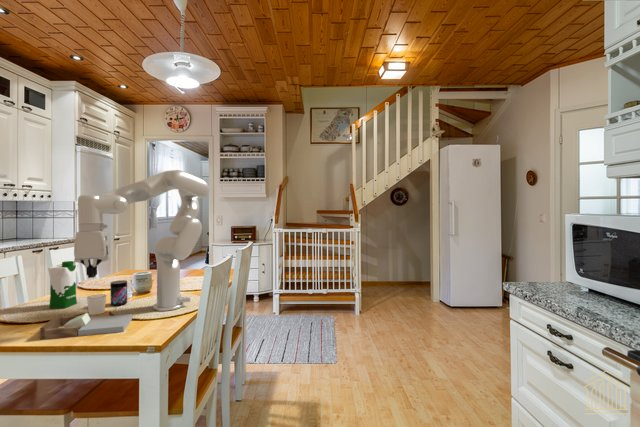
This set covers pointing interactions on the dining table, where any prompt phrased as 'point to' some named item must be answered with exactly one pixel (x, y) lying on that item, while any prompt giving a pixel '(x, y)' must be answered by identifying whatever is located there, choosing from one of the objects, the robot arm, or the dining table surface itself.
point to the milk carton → (63, 285)
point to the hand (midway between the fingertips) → (92, 276)
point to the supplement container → (118, 292)
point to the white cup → (96, 304)
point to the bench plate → (105, 325)
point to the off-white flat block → (78, 321)
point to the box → (53, 328)
